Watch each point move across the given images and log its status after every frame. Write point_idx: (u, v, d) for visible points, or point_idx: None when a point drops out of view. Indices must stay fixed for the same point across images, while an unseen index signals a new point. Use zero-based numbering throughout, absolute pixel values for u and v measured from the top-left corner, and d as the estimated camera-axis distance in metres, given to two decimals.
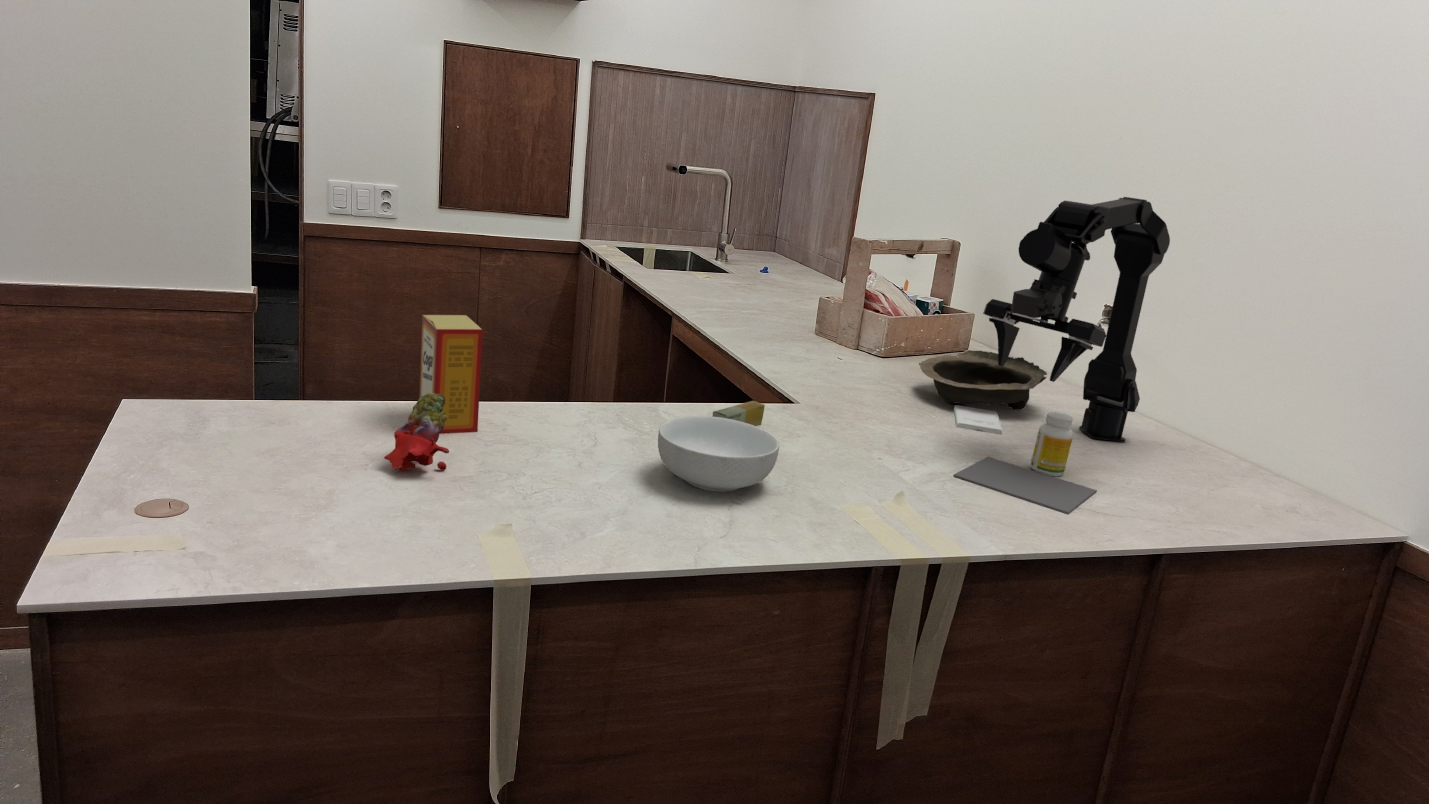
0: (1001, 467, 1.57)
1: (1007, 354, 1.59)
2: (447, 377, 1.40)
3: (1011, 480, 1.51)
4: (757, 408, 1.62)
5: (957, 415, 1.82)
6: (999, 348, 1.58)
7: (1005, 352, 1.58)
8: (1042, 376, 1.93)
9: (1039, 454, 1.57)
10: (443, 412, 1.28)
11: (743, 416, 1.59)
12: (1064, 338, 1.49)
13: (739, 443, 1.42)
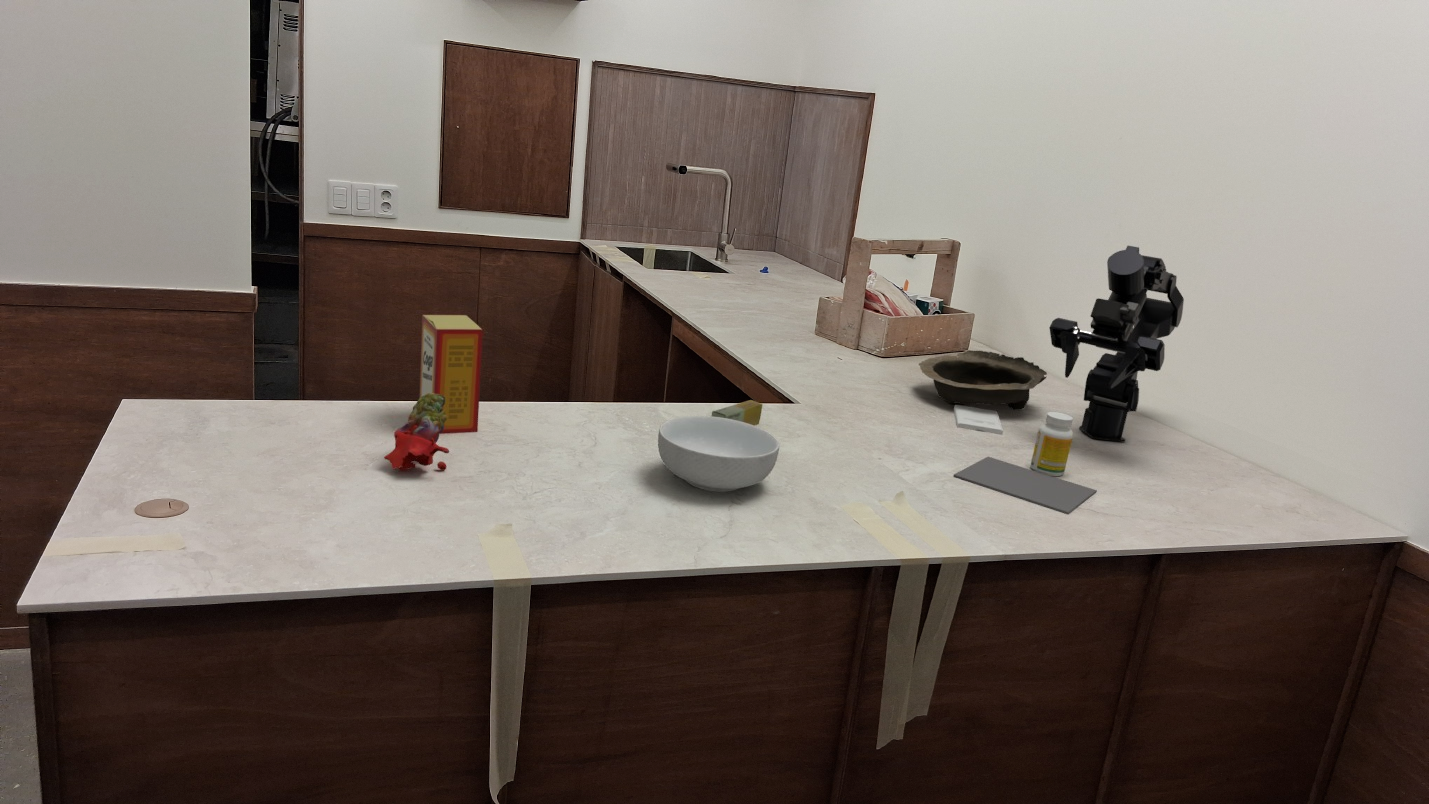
0: (1001, 467, 1.57)
1: (1071, 369, 1.68)
2: (447, 377, 1.40)
3: (1011, 480, 1.51)
4: (755, 407, 1.62)
5: (957, 415, 1.82)
6: (1067, 359, 1.67)
7: (1071, 365, 1.67)
8: (1042, 376, 1.93)
9: (1039, 454, 1.57)
10: (443, 412, 1.28)
11: (741, 416, 1.59)
12: (1130, 347, 1.62)
13: (739, 443, 1.42)
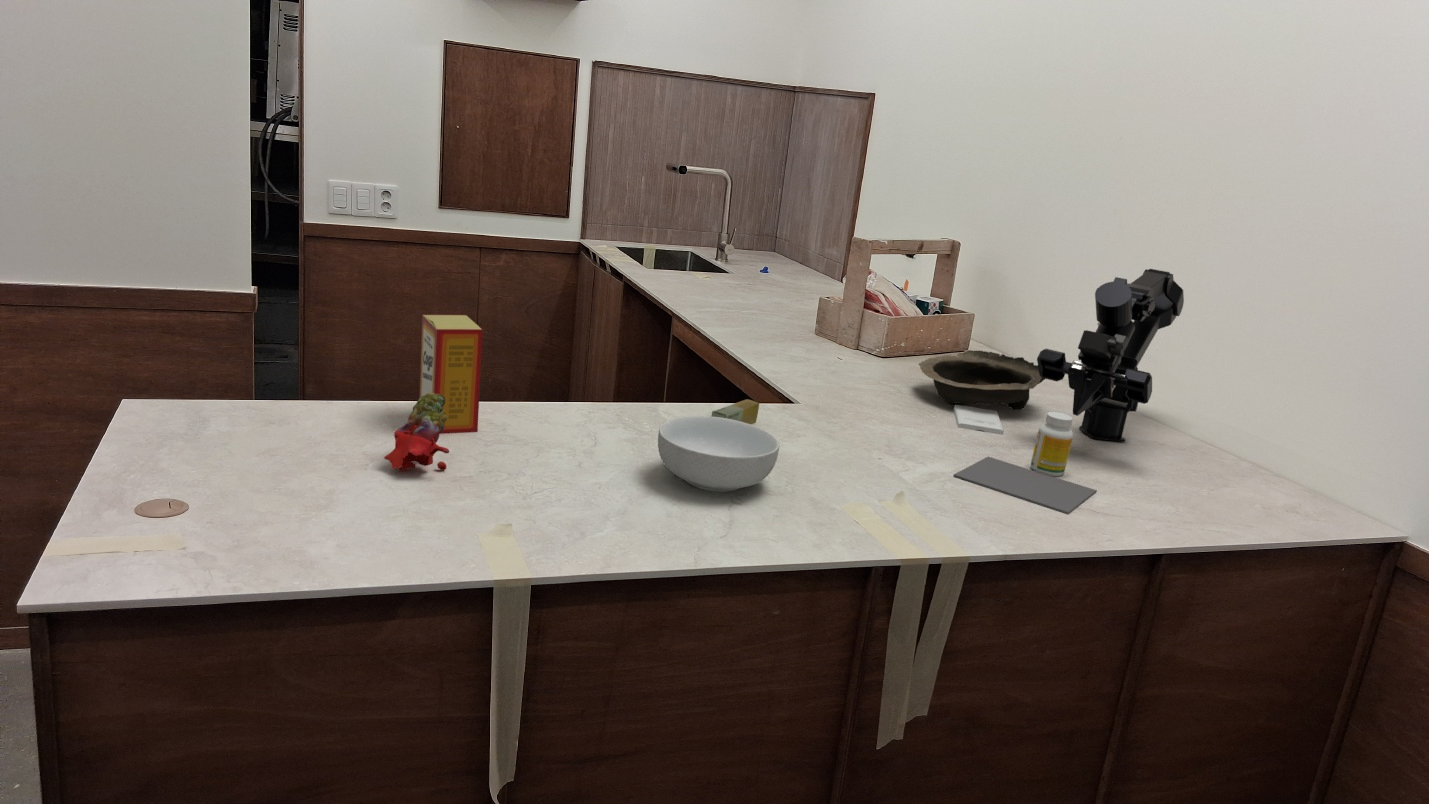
0: (1001, 467, 1.57)
1: None
2: (447, 377, 1.40)
3: (1011, 480, 1.51)
4: (753, 407, 1.62)
5: (958, 415, 1.82)
6: (1075, 396, 1.64)
7: None
8: None
9: (1039, 454, 1.57)
10: (443, 412, 1.28)
11: (740, 415, 1.59)
12: (1096, 374, 1.63)
13: (739, 443, 1.42)
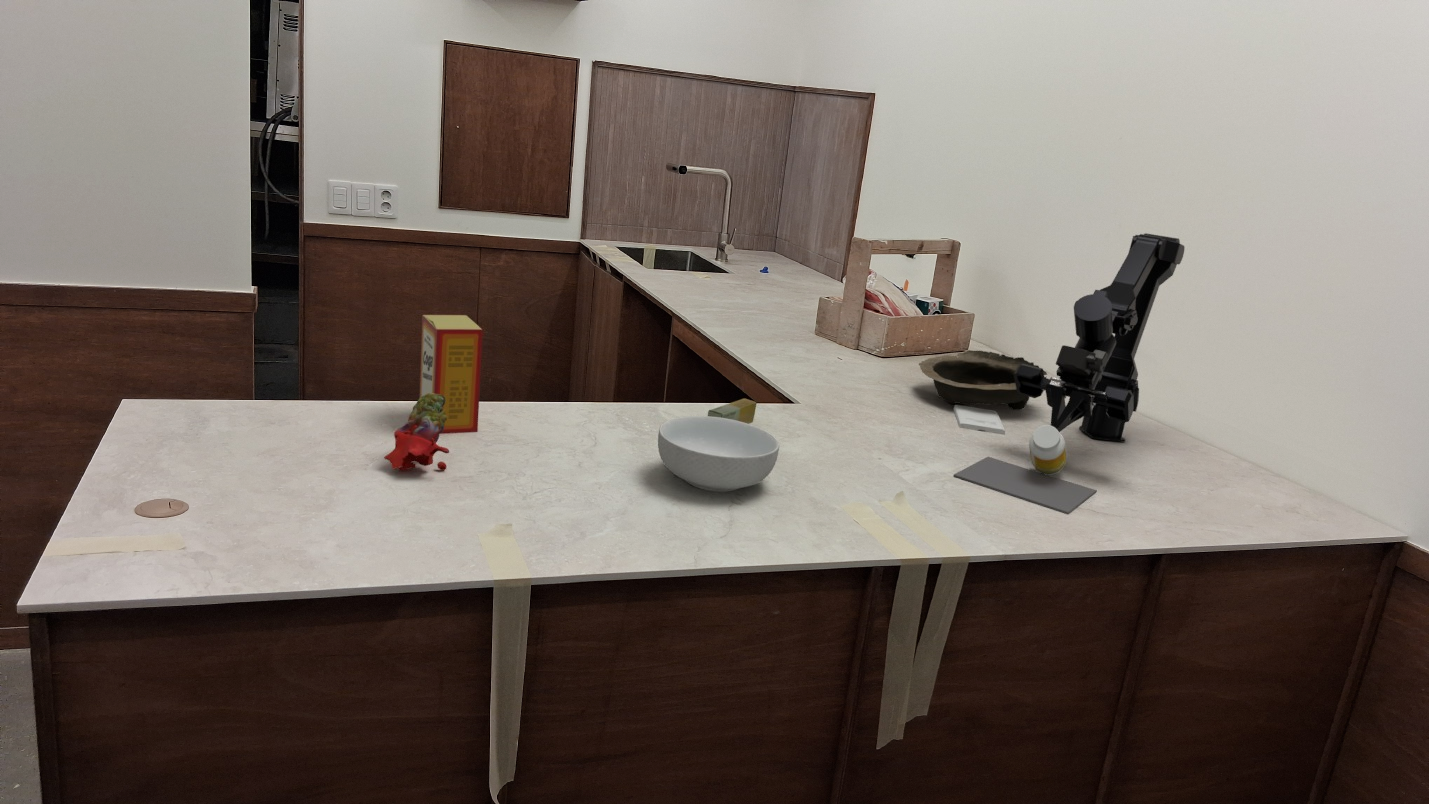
0: (1001, 467, 1.57)
1: None
2: (447, 377, 1.40)
3: (1011, 480, 1.51)
4: (750, 406, 1.63)
5: (959, 415, 1.82)
6: (1053, 414, 1.56)
7: None
8: None
9: (1035, 463, 1.55)
10: (443, 412, 1.28)
11: (737, 414, 1.59)
12: (1075, 391, 1.55)
13: (739, 443, 1.42)
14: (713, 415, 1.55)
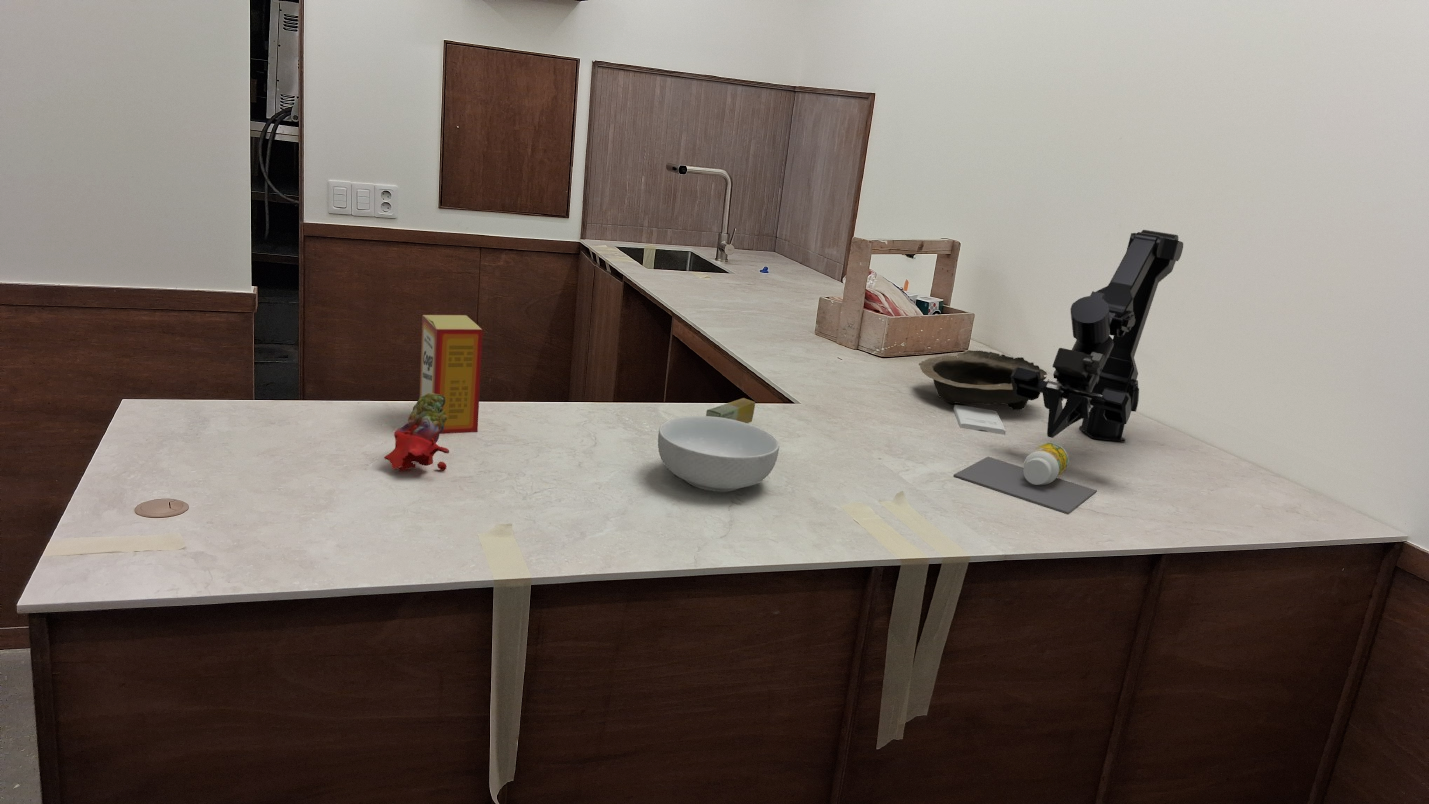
0: (1001, 467, 1.57)
1: None
2: (447, 377, 1.40)
3: (1011, 480, 1.51)
4: (748, 405, 1.63)
5: (959, 415, 1.82)
6: (1050, 417, 1.56)
7: None
8: (1042, 376, 1.93)
9: None
10: (443, 412, 1.28)
11: (735, 414, 1.60)
12: (1072, 394, 1.54)
13: (739, 443, 1.42)
14: (711, 415, 1.55)
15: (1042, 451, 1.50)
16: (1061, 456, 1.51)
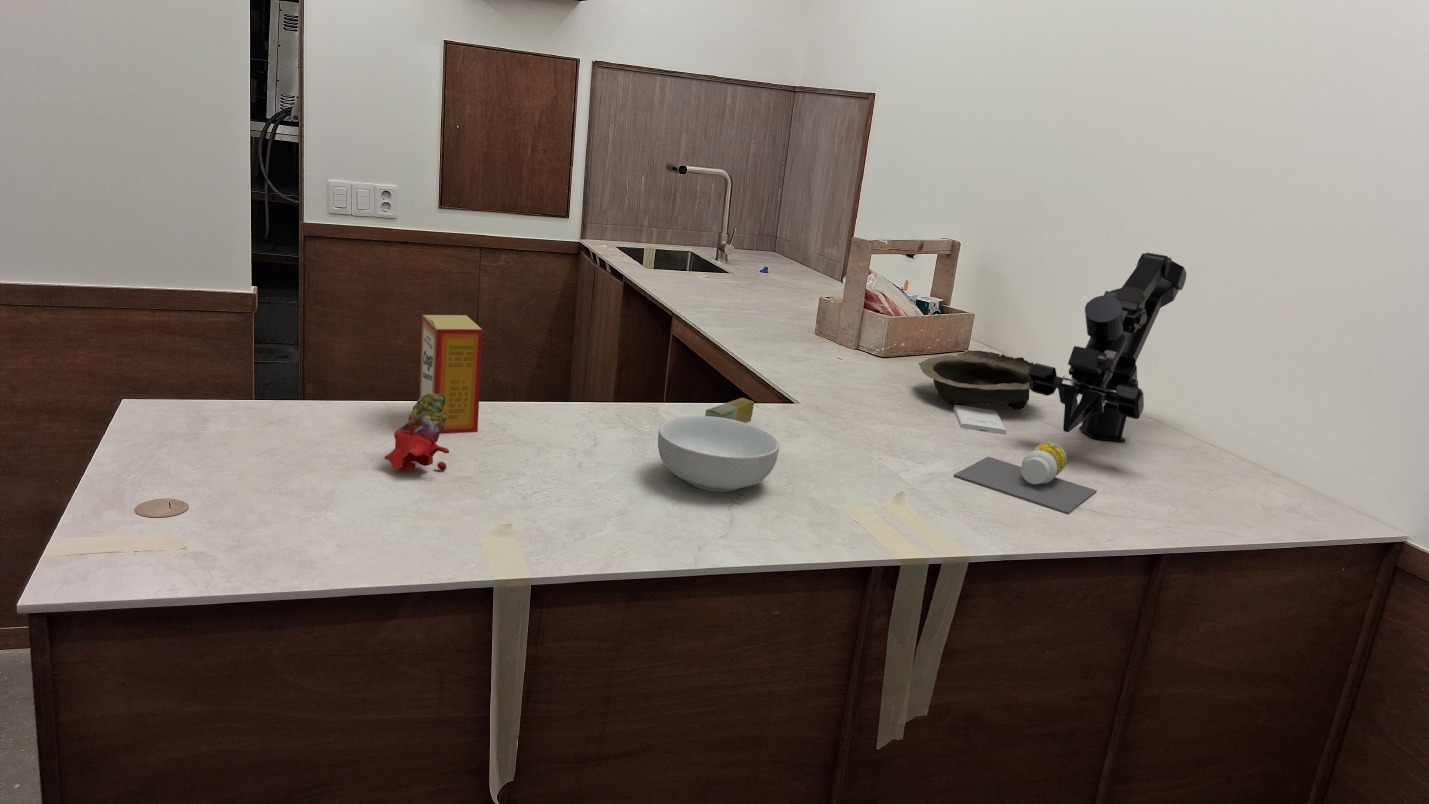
0: (1001, 467, 1.57)
1: None
2: (447, 377, 1.40)
3: (1011, 480, 1.51)
4: (747, 405, 1.63)
5: (959, 415, 1.82)
6: (1066, 413, 1.62)
7: None
8: None
9: None
10: (443, 412, 1.28)
11: (734, 414, 1.60)
12: (1086, 390, 1.61)
13: (739, 443, 1.42)
14: (711, 414, 1.56)
15: (1038, 450, 1.50)
16: (1058, 454, 1.51)
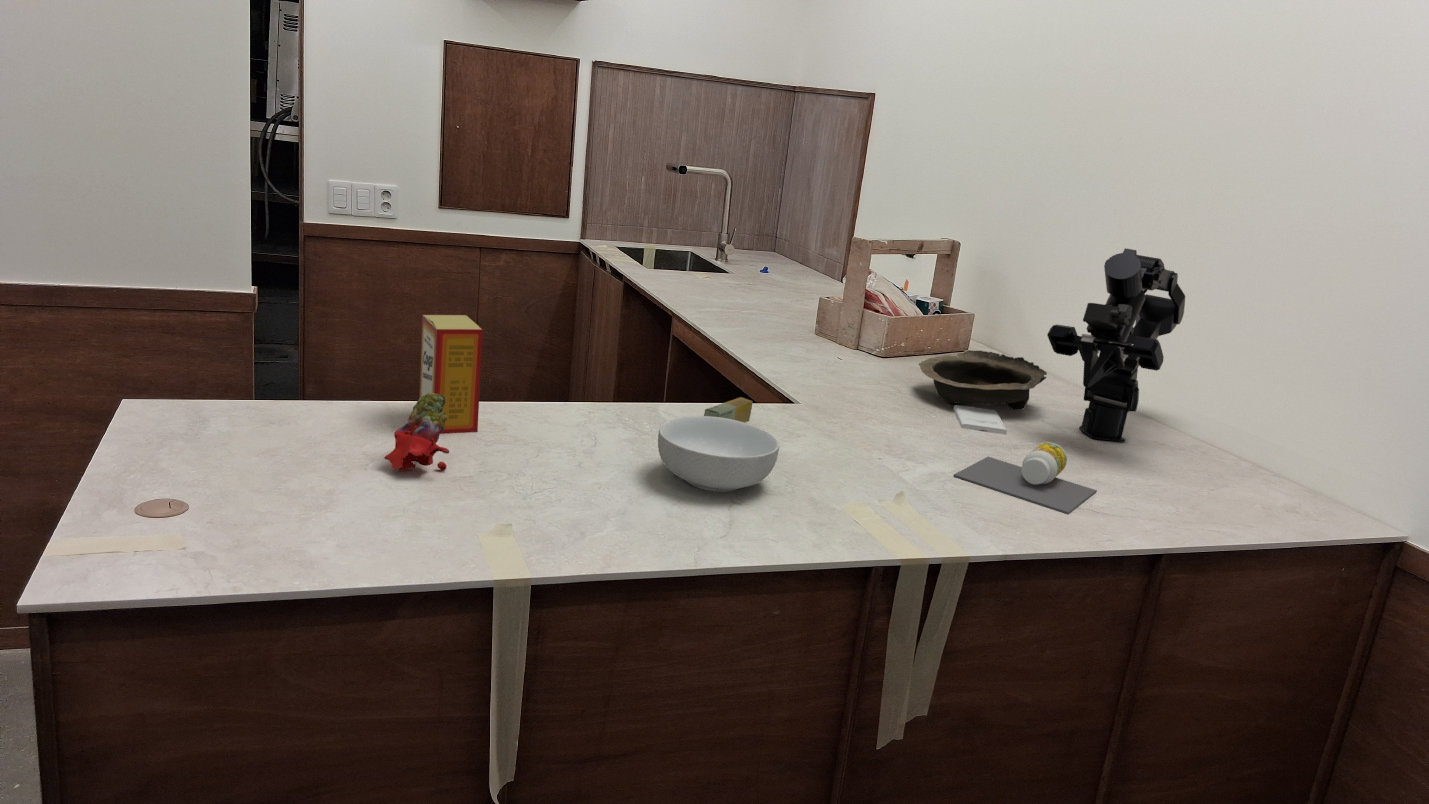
0: (1001, 467, 1.57)
1: None
2: (447, 377, 1.40)
3: (1011, 480, 1.51)
4: (746, 405, 1.63)
5: (960, 415, 1.82)
6: (1085, 369, 1.66)
7: None
8: (1042, 376, 1.93)
9: None
10: (443, 412, 1.28)
11: (733, 413, 1.60)
12: (1104, 345, 1.65)
13: (739, 443, 1.42)
14: (710, 414, 1.56)
15: (1039, 451, 1.50)
16: (1059, 455, 1.51)
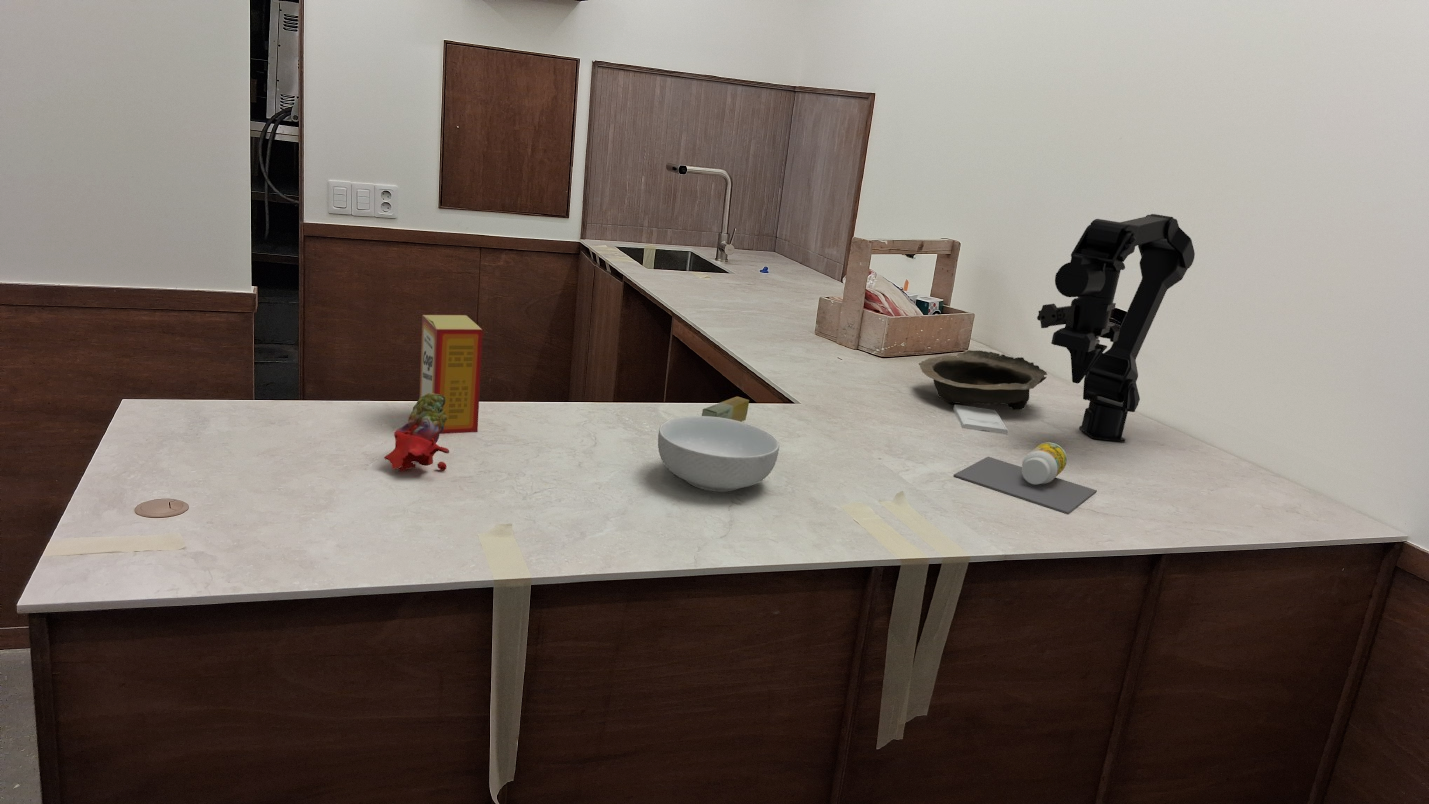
0: (1001, 467, 1.57)
1: None
2: (447, 377, 1.40)
3: (1011, 480, 1.51)
4: (742, 404, 1.63)
5: (960, 415, 1.82)
6: None
7: None
8: (1042, 376, 1.93)
9: None
10: (443, 412, 1.28)
11: (730, 412, 1.60)
12: None
13: (739, 443, 1.42)
14: (707, 414, 1.56)
15: (1039, 451, 1.50)
16: (1059, 455, 1.51)
